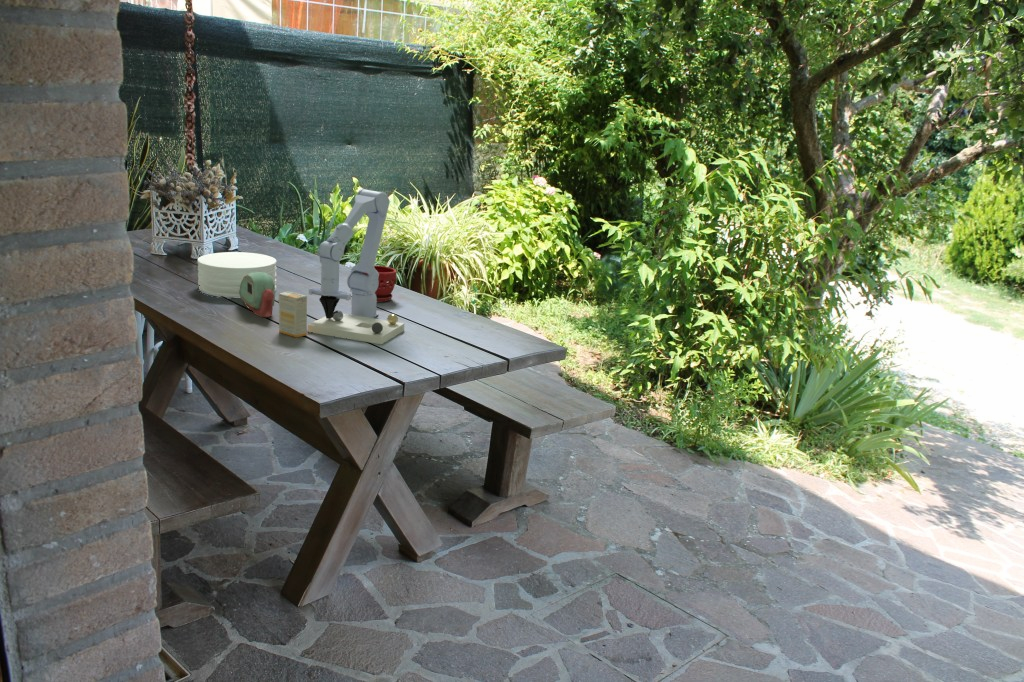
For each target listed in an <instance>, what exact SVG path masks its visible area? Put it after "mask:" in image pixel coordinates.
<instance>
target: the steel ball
mask: <svg viewBox="0 0 1024 682" xmlns="http://www.w3.org/2000/svg"><path fill="white" fill-rule="evenodd" d="M343 314H344V313H343V312H342V310H334V313H333V319H334V320H336V321H340V320H342V319H343Z"/></svg>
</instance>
